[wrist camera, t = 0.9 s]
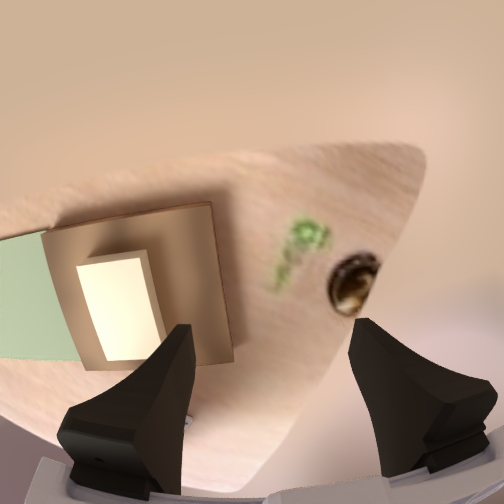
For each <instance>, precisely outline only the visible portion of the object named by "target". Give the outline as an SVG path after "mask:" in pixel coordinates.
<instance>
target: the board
mask: <svg viewBox="0 0 504 504" xmlns="http://www.w3.org/2000/svg"><path fill="white" fill-rule="evenodd" d="M40 236H41V240H42V244H43V248H44V252H45V256H46V260H47V264H48V268H49V271H50V275H51V278H52V282H53V285H54V288H55V292H56V295H57V298H58V301H59V304H60V307H61V310H62V313H63V315H64V318H65V321H66V324H67V326H68V329H69V332H70V334H71V337H72V339H73V342H74V344H75V347H76V349H77V352H78V354H79V356H80V359H81V361H82V363H83V366H84V368H85V370H86V371H120V370H136V369H137V368H138V367H139V366H140V365H141V364H142V363H143V362H144V361H145V360H146V359H139V360H114V361H107V358H106V356H105V353H104V351H103V348H102V346H101V343H100V340H99V338H98V335H97V332H96V329H95V326H94V324H93V321H92V318H91V315H90V312H89V309H88V305H87V302H86V299H85V296H84V293H83V289H82V286H81V282H80V279H79V275H78V271H77V268H76V266H77V265H79V264H80V263H81V262H82V261H84V260H85V259H86V258H90V257H97V256H103V255H110V254H117V253H124V252H131V251H138V250H145V249H146V250H147V255H148V260H149V264H150V269H151V274H152V278H153V283H154V287H155V291H156V296H157V300H158V304H159V308H160V312H161V316H162V320H163V323H164V327H165V331H166V335H167V336H168V335H169V333H170V332H171V331H172V330H173V328H174V327H175V326H176V325H177V324H191V327H192V334H193V341H194V348H195V354H196V366H202V365H212V364H222V363H230V362H234V354H233V345H232V339H231V333H230V327H229V321H228V315H227V309H226V303H225V296H224V290H223V283H222V277H221V270H220V263H219V256H218V249H217V242H216V235H215V228H214V221H213V213H212V206H211V202H204V203H197V204H190V205H183V206H176V207H169V208H163V209H157V210H150V211H144V212H138V213H132V214H127V215H121V216H115V217H110V218H104V219H99V220H94V221H88V222H83V223H78V224H73V225H68V226H63V227H58V228H54V229H51V230H48V231H46V232H44V233H42V234H40Z"/></svg>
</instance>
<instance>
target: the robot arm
mask: <svg viewBox="0 0 504 504" xmlns="http://www.w3.org/2000/svg"><path fill="white" fill-rule="evenodd" d="M348 355H349V360H350V364H351V367H352V371H353V374H354V376H355V379H356V381H357V384H358V386H359V389H360V391H361V393H362V396H363V398H364V401H365V403H366V405H367V408H368V411H369V413H370V417H371V421H372V424H373V428H374V433H375V437H376V442H377V447H378V452H379V458H380V465H381V473H382V476H379V475H375V476H368V477H363V478H358V479H353V480H348V481H342V482H336V483H331V484H324V485H317V486H310V487H300V488H293V489H288V490H282V491H279V492H276V493H273V494H271V495H269V496H268V497H267V498H208V497H192V496H181V468H182V450H183V437H184V431H185V430H186V429H187V428H188V427H189V426H190V424H191V423H192V422H193V418H192V417H190V416H188V415H187V411H188V406H189V402H190V397H191V393H192V388H193V384H194V379H195V369H196V354H195V348H194V341H193V334H192V327H191V324H177V325H176V326H175V327H174V328H173V330H172V331H171V332H170V333H169V335H168V336H167V337H166V338H165V339H164V341H163V342H162V343H161V344H160V345H159V347H158V348H157V349H156V350H155V351H154V352H153V353H152V354H151V355H150V356H149V357H148V358H147V359H146V360H145V361H144V362H143V363H142V364H141V365H140V366H139V367H138V368H137V369H136V370H135V371H134V372H133V373H131V374H130V375H129V376H128V377H126V378H125V379H124V380H122V381H121V382H119V383H118V384H116V385H115V386H113V387H112V388H110V389H109V390H107V391H105V392H103V393H102V394H100V395H98V396H96V397H94V398H92V399H90V400H88V401H85V402H83V403H80V404H78V405H75V406H73V407H70V408H69V409H68V411H67V413H66V415H65V417H64V419H63V421H62V424H61V426H60V428H59V430H58V433H57V439H58V441H59V443H60V444H61V446H62V447H63V448H64V450H65V451H66V452H67V453H68V455H69V456H70V457H71V458H72V459H73V460H74V465H73V468H71V467H70V466H68V465H66V464H63V463H61V462H58V461H54V460H52V459H49V458H46V457H42V458H41V460H40V463H39V465H38V468H37V470H36V472H35V475H34V477H33V480H32V483H31V485H30V488H29V490H28V493H27V496H26V499H25V501H24V504H476V503H477V502H479V501H481V500H482V499H484V498H486V497H487V496H489V495H491V494H492V493H494V492H496V491H497V490H499V489H500V488H501V487H502V486H503V485H504V425H503V426H501V427H499V428H497V429H495V430H494V431H492V432H490V433H489V434H488V435H487V436H486V435H485V433H484V432H483V431H484V430H485V429H486V426H485V424H484V423H483V421H484V420H485V419H486V417H487V416H488V415H489V413H490V412H491V410H492V409H493V407H494V405H495V404H496V401H497V398H498V394H497V392H496V391H495V389H494V388H493V386H492V385H491V384H490V382H489V381H487V380H483V379H478V378H473V377H469V376H466V375H463V374H460V373H457V372H454V371H451V370H449V369H446V368H444V367H442V366H439V365H437V364H435V363H433V362H431V361H429V360H427V359H425V358H424V357H422V356H420V355H419V354H417V353H415V352H414V351H412V350H411V349H409V348H408V347H406V346H405V345H403V344H402V343H400V342H399V341H398V340H397V339H395V338H394V337H392V336H391V335H390V334H389V333H387V332H386V331H385V330H383V329H382V328H381V327H380V326H378V325H377V324H376V323H375V322H373V321H372V320H370V319H369V318H358V319H355V323H354V328H353V333H352V338H351V342H350V347H349V351H348ZM186 422H187V423H186Z"/></svg>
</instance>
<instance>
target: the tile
mask: <svg viewBox="0 0 504 504" xmlns="http://www.w3.org/2000/svg"><path fill="white" fill-rule="evenodd" d="M76 268H77V271H78V275H79V279H80V282H81V286H82V289H83V293H84V296H85V299H86V302H87V305H88V309H89V312H90V315H91V318H92V321H93V324H94V326H95V329H96V332H97V335H98V338H99V340H100V343H101V346H102V348H103V351H104V353H105V356H106V358H107V361H114V360H139V359H147V358H148V357H149V356H150V355H151V354H152V353H153V352H154V351H155V350H156V349H157V348H158V347H159V345H160V344H161V343H162V342H163V341H164V339H165V338H166V337H167V335H166V331H165V327H164V323H163V320H162V316H161V312H160V308H159V304H158V300H157V296H156V291H155V287H154V283H153V278H152V274H151V269H150V264H149V260H148V255H147V250H146V249H145V250H138V251H131V252H124V253H117V254H110V255H103V256H97V257H90V258H86V259H85V260H84V261H82V262H81V263H80V264H79V265H77V266H76Z"/></svg>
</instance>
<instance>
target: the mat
mask: <svg viewBox="0 0 504 504" xmlns="http://www.w3.org/2000/svg"><path fill="white" fill-rule="evenodd" d="M46 231H48V230H44V231H39V232H35V233H30V234H26V235H22V236H17V237H13V238H9V239H5V240H1V241H0V358H7V359H22V360H44V361H81V359H80V356H79V354H78V352H77V349H76V347H75V344H74V342H73V339H72V337H71V334H70V332H69V329H68V326H67V324H66V321H65V318H64V315H63V313H62V310H61V307H60V304H59V301H58V298H57V295H56V292H55V288H54V285H53V282H52V278H51V275H50V271H49V268H48V264H47V260H46V256H45V252H44V248H43V244H42V240H41V236H40V234H42V233H44V232H46Z"/></svg>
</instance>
